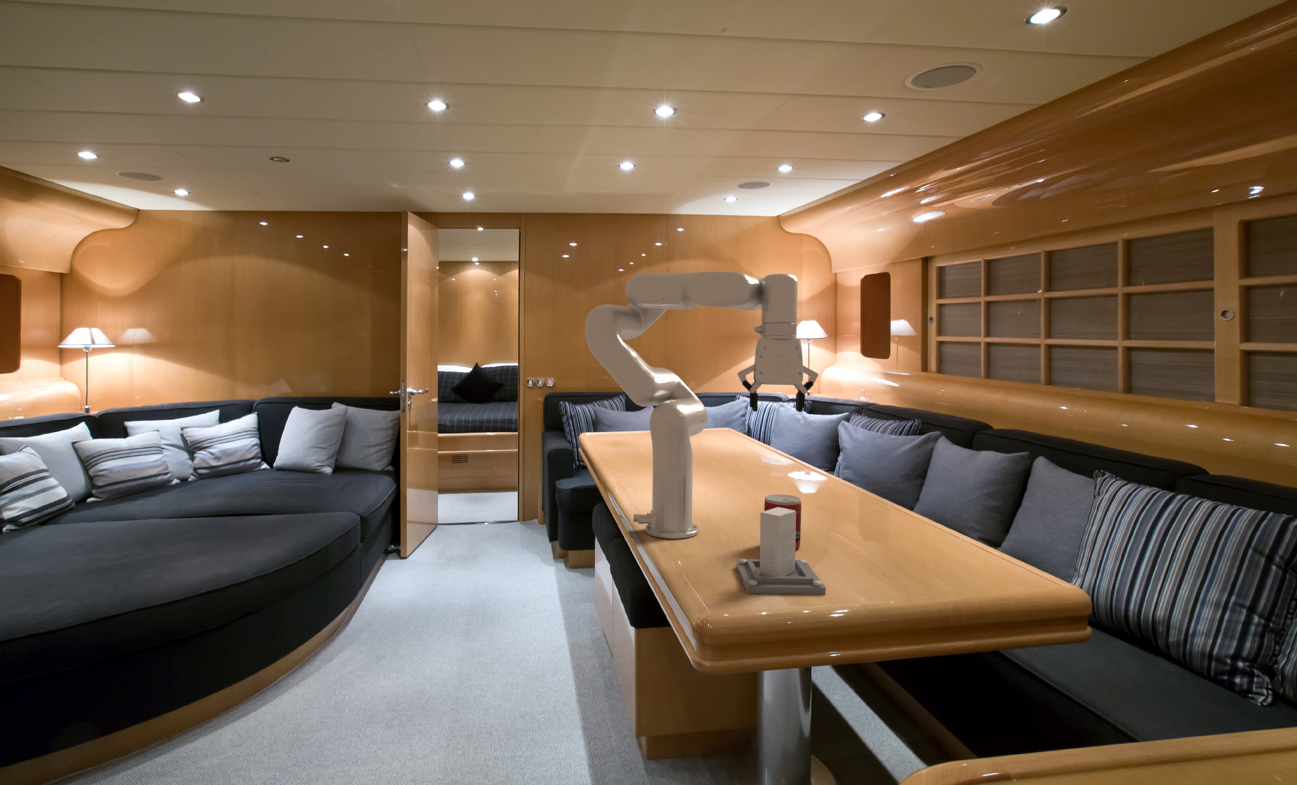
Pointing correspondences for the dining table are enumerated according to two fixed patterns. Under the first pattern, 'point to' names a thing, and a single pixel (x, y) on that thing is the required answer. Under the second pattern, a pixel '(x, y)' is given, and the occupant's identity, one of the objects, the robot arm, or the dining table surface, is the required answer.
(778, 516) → the skincare box
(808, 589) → the plate
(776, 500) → the canned food
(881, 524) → the dining table surface
